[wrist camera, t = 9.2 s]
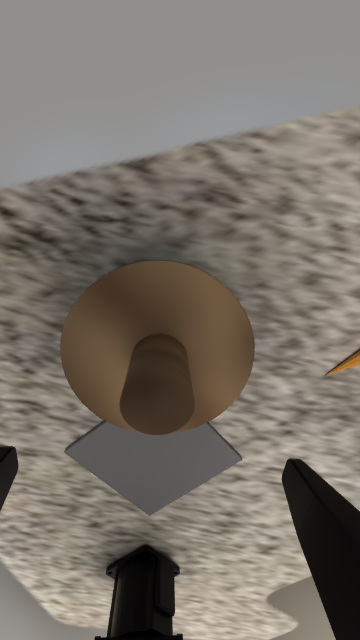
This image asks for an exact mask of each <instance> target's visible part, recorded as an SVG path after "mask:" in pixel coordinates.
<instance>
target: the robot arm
mask: <svg viewBox="0 0 360 640" xmlns="http://www.w3.org/2000/svg"><path fill="white" fill-rule="evenodd" d="M17 471H18V459H17V452H16V448H15V447H13V446H1V447H0V511H1V509H2V506H3V504H4V502H5V499H6V497H7V495H8V492H9V490H10V488H11V485H12V483H13V481H14V479H15V476H16V474H17ZM282 483H283V487H284V491H285V494H286V498H287V501H288V505H289V509H290V512H291V516H292V519H293V523H294V526H295V530H296V533H297V536H298V539H299V542H300V545H301V547H302V550H303V553H304V555H305V558H306V561H307V563H308V566H309V569H310V571H311V574H312V577H313V579H314V582H315V585H316V587H317V590H318V592H319V595H320V598H321V601H322V603H323V606H324V609H325V612H326V614H327V617H328V619H329V622H330V625H331V628H332V630H333V633H334V636H335V638H336V640H360V511H359V510H357V509H356V508H355V507H354V506H353V505H352V504H351V503H350V502H348V501H347V500H346V499H345V498H344V497H343V496H342V495H341V494H339V493H338V492H337V491H336V490H335V489H334V488H333V487H332V486H330V485H329V484H328V483H327V482H326V481H325V480H324V479H323V478H321V477H320V476H319V475H318V474H317V473H316V472H315V471H314V470H312V469H311V468H310V467H309V466H308V465H307V464H306V463H305V462H303V461H302V460H301V459H293V458H290V459H288V460H287V462H286V465H285V468H284V471H283V474H282ZM106 574H107V575H108V576H110V577H112V578H113V579H115V583H114V590H113V597H112V603H111V610H110V617H109V624H108V631H107V637H105V638H101V637H100V636H96V637H95V640H183V635H182V634H177V635H173V627H172V616H174V614H175V591H174V577H175V576H177V575H179V574H180V568H179V567H178V566H176V565H175V564H173V563H172V562H170V561H169V560H167V559H166V558H165V557H163V556H162V555H160V554H159V553H157V552H156V551H154V550H153V549H151V548H150V547H148V546H144V547H142V548H140V549H138V550H136V551H135V552H133V553H131V554H129V555H128V556H126V557H124V558H123V559H121V560H119V561H117V562H116V563H114V564H112V565H110V566H109V567H107V569H106Z"/></svg>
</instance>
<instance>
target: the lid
mask: <svg viewBox="0 0 360 640" xmlns="http://www.w3.org/2000/svg"><path fill="white" fill-rule="evenodd" d="M61 360H62V366H63V369H64V373H65V376H66V378H67V380H68V382H69V385H70V386H71V388H72V390H73V391H74V393H75V394H76V396H77V397H78V398H79V399H80V400H81V402H82V403H83V404H84V405H85V406H86V407H87V408H88V409H89V410H90V411H92V412H93V413H94V414H96V415H97V416H98V417H100V418H101V419H103V420H105V421H107V422H108V423H110V424H112V425H115V426H117V427H119V428H122V429H125V430H129V431H132V432H137V433H143V434H149V435H165V434H172V433H178V432H183V431H187V430H190V429H193V428H196V427H198V426H201V425H203V424H205V423H207V422H209V421H210V420H212V419H214V418H216V417H217V416H218V415H220V414H221V413H222V412H224V411H225V410H226V409H227V408H228V407H229V406H230V405H231V404H232V403H233V402H234V401H235V400H236V398H237V397H238V396H239V395H240V393H241V391H242V390H243V388H244V387H245V385H246V383H247V380H248V378H249V376H250V373H251V369H252V366H253V360H254V337H253V331H252V328H251V324H250V321H249V319H248V317H247V314H246V312H245V310H244V309H243V307H242V306H241V304H240V303H239V301H238V300H237V299H236V297H235V296H234V295H233V294H232V293H231V292H230V291H229V290H228V288H227V287H225V286H224V285H223V284H222V283H221V282H220V281H218V280H217V279H216V278H214V277H213V276H211V275H210V274H208V273H206V272H204V271H202V270H200V269H198V268H196V267H193V266H190V265H187V264H184V263H180V262H174V261H167V260H150V261H140V262H136V263H132V264H128V265H125V266H123V267H120V268H117V269H115V270H113V271H111V272H109V273H108V274H106V275H104V276H103V277H101V278H100V279H99V280H97V281H96V282H95V283H93V284H92V285H91V286H90V287H89V288H88V289H87V290H86V291H85V292H84V293H83V294H82V295H81V296H80V297H79V298H78V300H77V301H76V302H75V304H74V305H73V307H72V308H71V310H70V312H69V314H68V316H67V318H66V321H65V324H64V327H63V330H62V336H61Z"/></svg>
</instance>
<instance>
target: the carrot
mask: <svg viewBox="0 0 360 640" xmlns="http://www.w3.org/2000/svg"><path fill="white" fill-rule="evenodd" d="M357 365H360V351H359V352H357V353H356V354H354V355H353V356H352V357H350V358H349V359H347V360H346V361H345V362H343V363H342V364H340V365H339V366H337V367H336V368H335V369H333V370H332V371H330V372H329V373H328V374H326V375H329V374H332V373H335V372H338V371H341V370H344V369H348V368H351V367H354V366H357ZM326 375H325V376H326Z"/></svg>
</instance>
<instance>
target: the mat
mask: <svg viewBox="0 0 360 640" xmlns="http://www.w3.org/2000/svg"><path fill="white" fill-rule="evenodd" d="M64 452H65V453H66V454H67V455H69V456H70V457H71V458H73V459H74V460H75V461H77V462H78V463H79V464H81V465H82V466H83V467H85V468H86V469H87V470H89V471H90V472H91V473H93V474H94V475H95V476H97V477H98V478H99V479H101V480H102V481H104V482H105V483H106V484H108V485H109V486H110V487H112V488H113V489H114V490H116V491H117V492H118V493H120V494H121V495H122V496H124V497H125V498H126V499H128V500H129V501H130V502H132V503H133V504H134V505H136V506H137V507H138V508H140V509H141V510H142V511H144V512H145V513H147V514H148V515H149V516H150V515H151V514H153V513H155V512H156V511H158V510H160V509H161V508H163V507H165V506H166V505H168V504H170V503H171V502H173V501H175V500H176V499H178V498H180V497H181V496H183V495H185V494H186V493H188V492H190V491H191V490H193V489H194V488H196V487H198V486H199V485H201V484H203V483H204V482H206V481H208V480H209V479H211V478H213V477H214V476H216V475H218V474H219V473H221V472H223V471H224V470H226V469H228V468H229V467H231V466H233V465H234V464H236V463H238V462H239V461H241V460H242V457H241V456H240V454H239V453H238V452H237V451H236V450H235V449H234V448H233V447H232V446H231V445H230V444H229V443H228V442H227V441H226V440H225V439H224V438H223V437H222V436H221V435H220V434H219V433H218V432H217V431H216V430H215V429H214V428H213V427H212V426H211V425H210V424H209V423H208V422H207V423H205V424H203V425H201V426H198V427H196V428H193V429H190V430H187V431H183V432H178V433H172V434H165V435H149V434H143V433H137V432H132V431H129V430H125V429H122V428H119V427H117V426H115V425H112V424H110V423H108V422H107V421H103V422H102V423H100V424H99V425H98V426H96V427H95V428H94V429H92V430H91V431H89V432H88V433H87V434H85V435H84V436H82V437H81V438H80V439H78V440H77V441H76V442H74V443H73V444H71V445H70V446H69V447H67V448H66V449H65V451H64Z"/></svg>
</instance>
